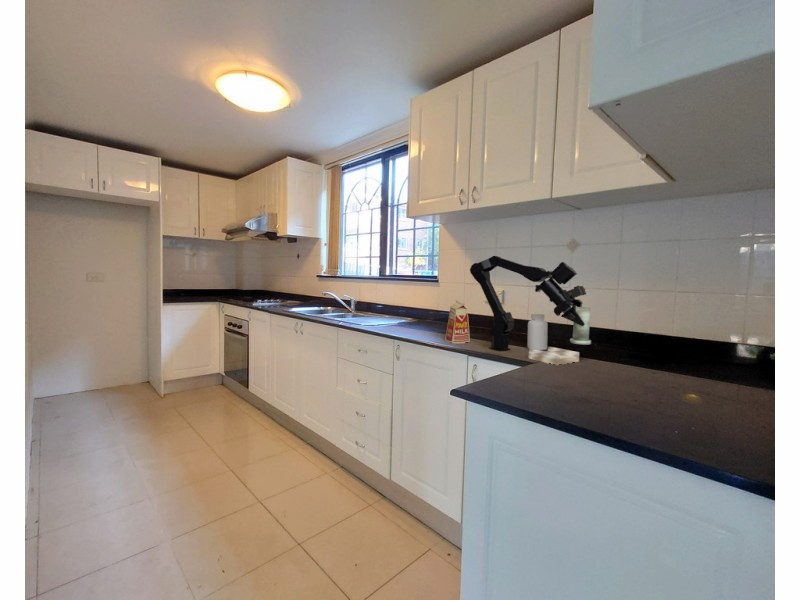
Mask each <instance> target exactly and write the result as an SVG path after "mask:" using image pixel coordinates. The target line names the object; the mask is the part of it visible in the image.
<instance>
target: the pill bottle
mask: <svg viewBox="0 0 800 600" xmlns="http://www.w3.org/2000/svg"><path fill="white" fill-rule="evenodd" d="M530 318H531V320H528V322H527V340H526V341H527V344H526V347H527V349H528V350H529V349H535V350H540V351H547V350H548V326H549V324H548V322H547V321H546V320H545V314H543V313H532V314H531V315H530Z"/></svg>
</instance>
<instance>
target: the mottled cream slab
mask: <svg viewBox="0 0 800 600" xmlns="http://www.w3.org/2000/svg"><path fill="white" fill-rule="evenodd" d="M528 359H530V360H534V361H537V362H542V363H545V364H549V363H551V364H550V365H553V364H555V365H554V366H560V365H559V364H562V365H568V364H567V363H569V364H573V363H572V362H575V363H579V362H580V352H579V351H573V350H570V349H564V348H559V347H554V346H547V350H535V349H528Z"/></svg>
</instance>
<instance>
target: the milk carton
mask: <svg viewBox="0 0 800 600" xmlns="http://www.w3.org/2000/svg"><path fill="white" fill-rule="evenodd" d="M464 305H465V303H463V302H461V301H459V300H458V299H455V302H454V303H452V304H451V305H450V308H449V315H448V319H447V320H448V321H447V327H446V332H445V337H444V341H445V340H447V341H449V342H452V343H451V344H466V343H465V342H470V324H469V313H468V309H467V308H466V306H464ZM449 342H448V343H449Z"/></svg>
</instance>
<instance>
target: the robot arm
mask: <svg viewBox="0 0 800 600" xmlns="http://www.w3.org/2000/svg"><path fill="white" fill-rule="evenodd" d="M496 267H500V268H502V269H505V270H508V271H511V272H513V273H516V274H519V275H521V276H522V277H524V279H527V280H528V281H531V282H533V283H540V284H535V285H534V286H535V289H534V292H535V293H540V292H543V293H544V295H545V296H546V297H547V298H549V302H550V303H553V304H554V305H555V307H554V308H553V313H554V314H555V315H556V317H559V316H560V317H562V318H564V319H566V320H568V321H570V322H572V323H574V322H575V323H577V324H579V325H581V326H584V325H585V323H584V322H583V320H582V319H581V318H580V316H579V315H578V313H577V312H576V307H583V304H584V303H583V301H582V300H581V299H579V298H578V297H581V296H584V295H587V292H586V288H585V287H584V285H576V286H573V288H572V289H569V290H567V289H563V288H562V287H561V286H560V285H566V284H567V283H568V282H570V280H572V279H573V278H574V277H575V276H576V275H577V274H578V273H577V272H576V270H575V269H574V268H573V267H571V266H570V265H568V264H567V263H565V261H562V262H560V263H559V264H558V266H556V267H555V268H554V270H552V271H551V270H547V271H546V269H545V268H543V267H537V266H532V265H531V266H529V265H524V264H522V263H518V262H515V261H512V260H509V259H505V258H503V257H501V256H497V255H493V256H491V257H489V258H487V259H484V260H481V261H479V262H474V263H473V264H471V266H470V269H469V271H470V275H472V277H473V279H474V280H475V281H476V282H477V283H478V284H479V285H480V287H481V290H482V292H483V294H484V297H485V299H486V301H487V303H488V305H489V308H490V309H491V312H492V315H493V324H494V325H493V326H492V327H491V328H490V329H489V330H488V332H489V334H490V336H491V346H489V347H488V349H489V350H490V349H491V350H495V351H499V352H502V351H510V350H511V348H510V347H509V335H510V333H511V331H512V330H513V329H514V327H515V319H514V318H513V315H512V313H511V311H508V312H507V311H506V310H505V309H504V307H503V305H502V303H501V300H500V298H499V296H498V294H497V292H496V290H495V288H494V286H493V284H492V282H491V273H490V272H491V271H493V270H494V269H495V268H496ZM546 279H547V280H546ZM576 298H578V299H576Z"/></svg>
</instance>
